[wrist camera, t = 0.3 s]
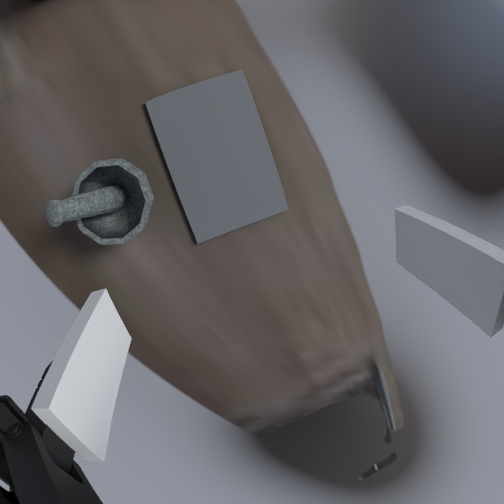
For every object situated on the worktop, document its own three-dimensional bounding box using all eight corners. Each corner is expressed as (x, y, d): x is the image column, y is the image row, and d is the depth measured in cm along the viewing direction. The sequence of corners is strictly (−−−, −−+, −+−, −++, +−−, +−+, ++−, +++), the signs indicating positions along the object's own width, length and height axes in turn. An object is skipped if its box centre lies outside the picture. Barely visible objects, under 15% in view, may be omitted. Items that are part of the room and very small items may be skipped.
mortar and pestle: (159, 156, 35) (142, 156, 23) (161, 227, 38) (147, 258, 26) (79, 163, 33) (36, 169, 21) (84, 231, 36) (46, 261, 24)
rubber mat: (145, 102, 32) (145, 102, 31) (241, 70, 33) (242, 69, 32) (197, 242, 39) (197, 243, 38) (287, 208, 40) (289, 209, 39)
